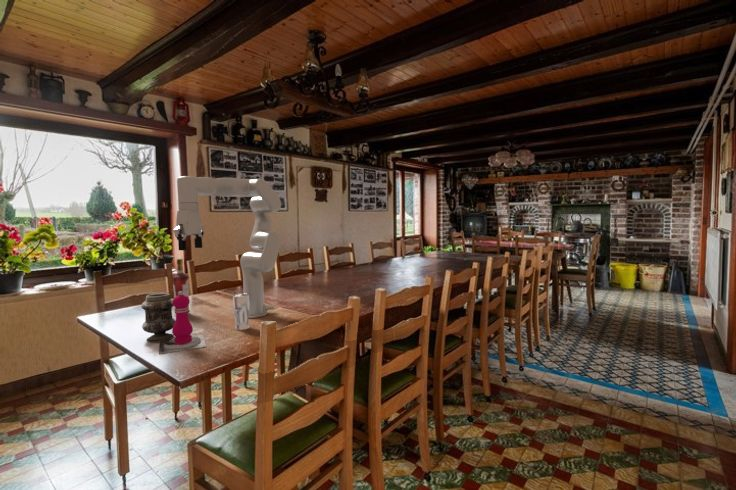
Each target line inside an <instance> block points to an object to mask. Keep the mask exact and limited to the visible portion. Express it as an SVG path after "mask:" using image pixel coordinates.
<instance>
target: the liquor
mask: <svg viewBox="0 0 736 490" xmlns="http://www.w3.org/2000/svg"><path fill="white" fill-rule="evenodd" d="M183 262H184V261H183V258H176V266H177V267H176V269H177V270H176V274H175V275H174V276H172V278H171V279H172V288H173V298H174V297H176V296H178V292H179V291H182V292H183V295H186V296H187V297H188V298H189V294H190V293H189V288H190V287H189V286H190V284H189V283H190V281H189V280H190V279H189V276H188V275H187V274H185V273H184V267H183ZM189 299H190V298H189ZM189 306H190V304H189V305H188V306H187V307H189ZM188 309H189V310H188V313H187V314H189V313H190V312H191V310H190V308H188ZM174 314H175V315H176V312H174Z"/></svg>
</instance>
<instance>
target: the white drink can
mask: <svg viewBox="0 0 736 490" xmlns="http://www.w3.org/2000/svg"><path fill="white" fill-rule="evenodd" d="M249 307H250V303H249V294H247V293H244V292H242V293H235V294H233V295H232V310H233V314H234V318H235V319H234V320H235V325H234V330H236V331H245V330H248V329H250V324H249V318H248V315H249Z"/></svg>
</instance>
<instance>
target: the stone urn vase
mask: <svg viewBox="0 0 736 490" xmlns="http://www.w3.org/2000/svg"><path fill="white" fill-rule="evenodd" d="M173 299H174V298H171V295H170V293H168V292H167V293H165V292H164V293H163V292H162V293H152V294H151V293H150V294H148V295H146V296H145V300H144V301H143V302H142V303H141V308H142V310H144V313H145V317H144V319H145V321H144V322H143V323H142V325H141V328H142V330H143V331H144V332H146V333H150V334H152V335H151V336H149V337H147V338H146V342H149V343H157V342H159V343H160V341H165V340H168V339H174V338H175V336H174V335H173V333H168V332H169V331H170V330H171V331H172V330H173V326H174V323H175V321H176V319H174V317H173V310H172V308H173V307H174V306H173V303H172V302H173Z"/></svg>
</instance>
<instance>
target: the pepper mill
mask: <svg viewBox="0 0 736 490" xmlns="http://www.w3.org/2000/svg"><path fill="white" fill-rule="evenodd" d="M172 299H173V302H172V303H173V307H174V308H173V309H174V313H175V312H176V314H175V323H174V326H173V328H172V329H171V331H172V333H171V334H173V335H174V337H173V339H174V343H176V344H185V343H189V342H191V341H192V336H193V335H192V334H193V331H194V328H193V325H192V323H191V321H190V319H189V316H188V314H189V313H188V310H190V308H189V307H187V306H188V305H189V306H190V302H191V301H190V298H188V297H187V296H186V295H183V292H182V291H179V292H178V296H176V297H174V296H173V298H172ZM188 308H189V309H188ZM187 313H188V314H187Z"/></svg>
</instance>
